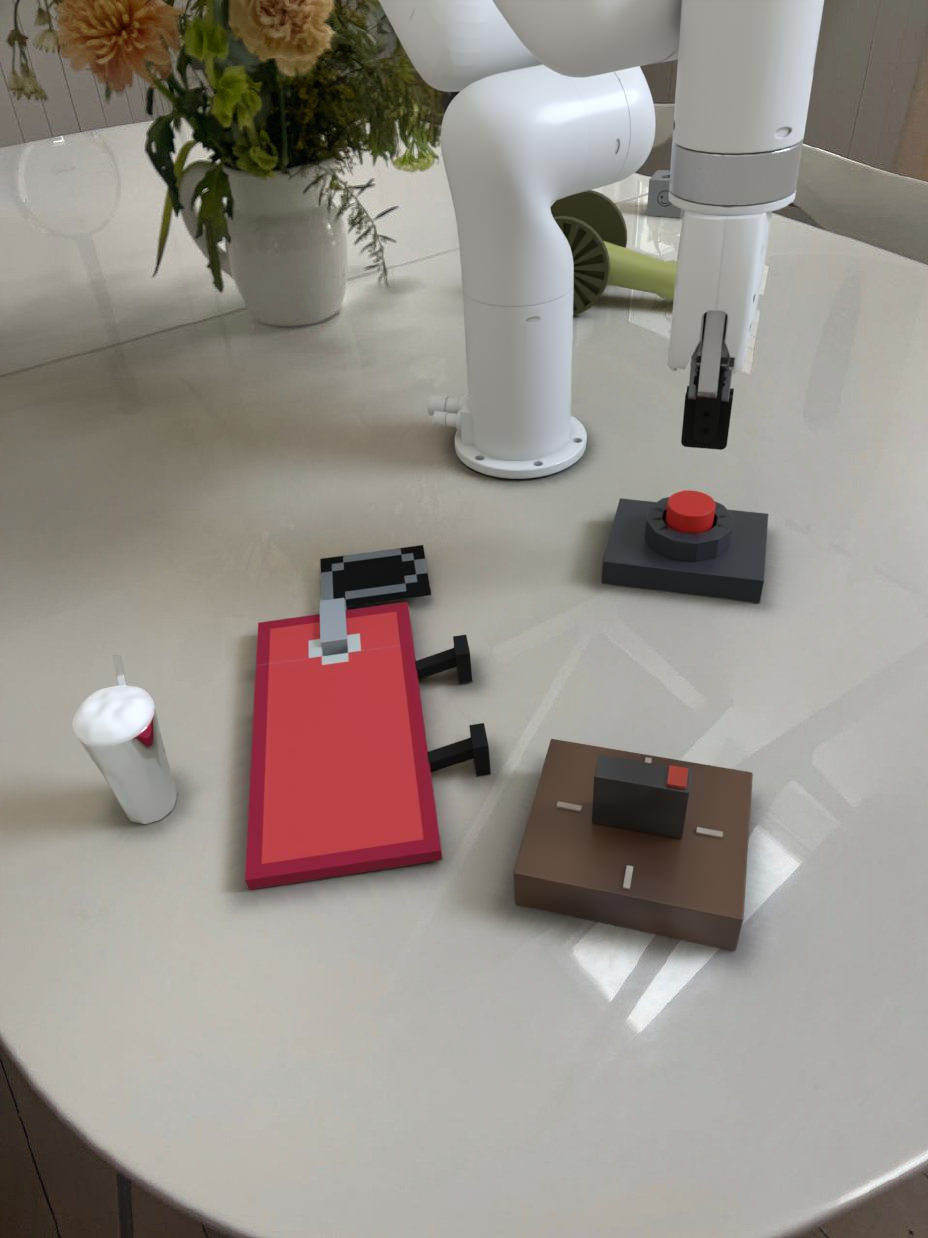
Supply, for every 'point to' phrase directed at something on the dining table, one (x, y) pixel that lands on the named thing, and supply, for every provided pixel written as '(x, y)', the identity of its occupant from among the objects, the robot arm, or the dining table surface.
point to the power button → (690, 512)
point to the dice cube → (661, 196)
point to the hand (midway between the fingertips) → (704, 442)
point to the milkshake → (128, 748)
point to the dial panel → (637, 853)
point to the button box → (687, 552)
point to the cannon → (606, 251)
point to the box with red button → (641, 796)
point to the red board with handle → (348, 729)
